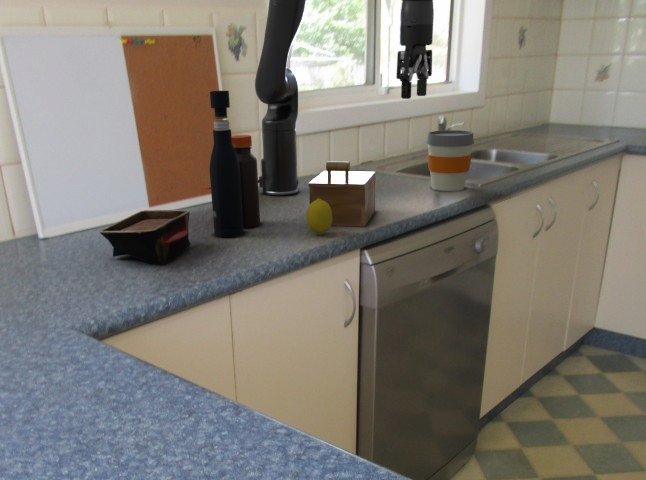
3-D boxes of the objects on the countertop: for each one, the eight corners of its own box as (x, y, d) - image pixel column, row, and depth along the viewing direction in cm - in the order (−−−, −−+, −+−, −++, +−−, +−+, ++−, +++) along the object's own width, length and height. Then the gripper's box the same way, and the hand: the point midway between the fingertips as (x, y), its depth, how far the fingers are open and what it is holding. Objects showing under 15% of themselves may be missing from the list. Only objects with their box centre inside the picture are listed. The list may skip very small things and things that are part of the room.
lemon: (322, 240, 139) (321, 202, 136) (301, 236, 142) (300, 199, 139) (337, 234, 143) (337, 197, 140) (316, 230, 146) (316, 194, 143)
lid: (364, 187, 144) (364, 163, 143) (308, 186, 148) (307, 163, 146) (375, 175, 158) (375, 153, 157) (323, 174, 161) (323, 152, 160)
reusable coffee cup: (452, 194, 177) (455, 137, 172) (415, 188, 186) (417, 133, 181) (480, 187, 185) (483, 132, 179) (443, 181, 194) (446, 129, 188)
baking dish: (98, 271, 130) (89, 224, 124) (148, 234, 144) (141, 191, 139) (162, 283, 125) (155, 235, 120) (207, 244, 139) (202, 200, 134)
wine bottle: (249, 231, 147) (240, 90, 136) (234, 238, 142) (224, 92, 131) (224, 229, 150) (214, 90, 139) (208, 236, 144) (197, 92, 134)
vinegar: (235, 221, 156) (230, 134, 149) (263, 221, 155) (259, 134, 148) (226, 228, 150) (220, 138, 143) (255, 229, 149) (250, 138, 142)
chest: (364, 226, 148) (364, 187, 145) (310, 224, 151) (309, 186, 148) (374, 211, 162) (375, 175, 158) (324, 209, 165) (323, 174, 161)
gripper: (414, 24, 159) (412, 94, 165) (387, 23, 148) (385, 99, 154) (444, 23, 155) (440, 95, 161) (418, 22, 144) (415, 100, 150)
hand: (413, 97), depth 157 cm, fingers open, 8 cm apart
